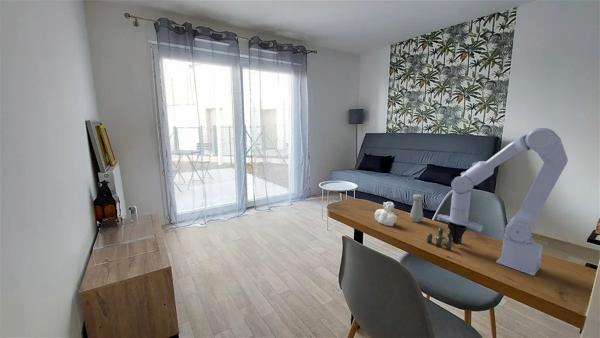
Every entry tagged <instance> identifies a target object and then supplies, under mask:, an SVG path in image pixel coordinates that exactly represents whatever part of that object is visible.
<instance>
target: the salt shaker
mask: <svg viewBox="0 0 600 338" xmlns="http://www.w3.org/2000/svg"><path fill="white" fill-rule="evenodd" d="M412 199H413V200H414V201H413V203H412V208H411V210H410V214H409V217H410V220H411V221H412V222H413V221H414V222H413V223H421V222H422V221H423V219H424V212H423V203H422V201H423V200H424V196H423V195H422V194H413V195H412Z"/></svg>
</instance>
